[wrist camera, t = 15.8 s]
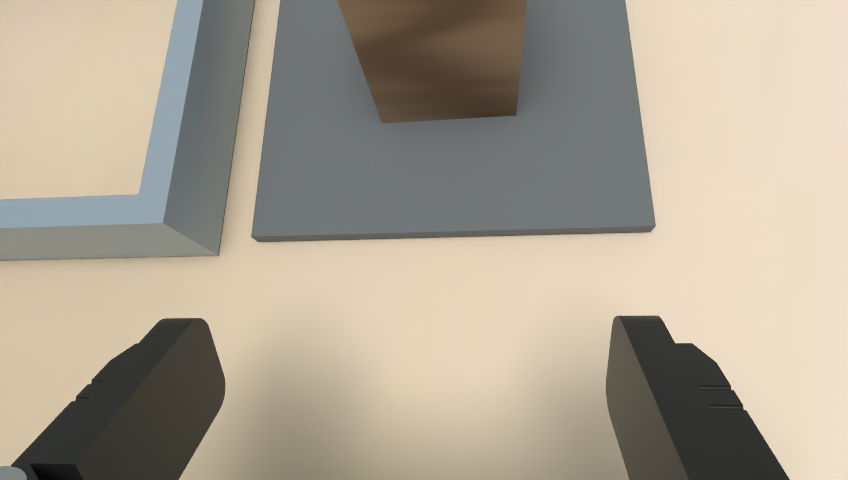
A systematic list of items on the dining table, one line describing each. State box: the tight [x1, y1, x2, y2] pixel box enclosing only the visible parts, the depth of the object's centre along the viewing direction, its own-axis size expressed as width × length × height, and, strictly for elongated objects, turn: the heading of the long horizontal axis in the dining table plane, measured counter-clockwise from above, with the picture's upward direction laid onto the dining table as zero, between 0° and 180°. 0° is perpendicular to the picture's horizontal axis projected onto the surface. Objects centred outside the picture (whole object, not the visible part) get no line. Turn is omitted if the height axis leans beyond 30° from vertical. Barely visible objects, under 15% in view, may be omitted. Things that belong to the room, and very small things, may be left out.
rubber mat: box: [251, 0, 656, 242], centre depth 20 cm, size 14×14×1 cm
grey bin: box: [0, 0, 255, 260], centre depth 21 cm, size 15×15×4 cm
